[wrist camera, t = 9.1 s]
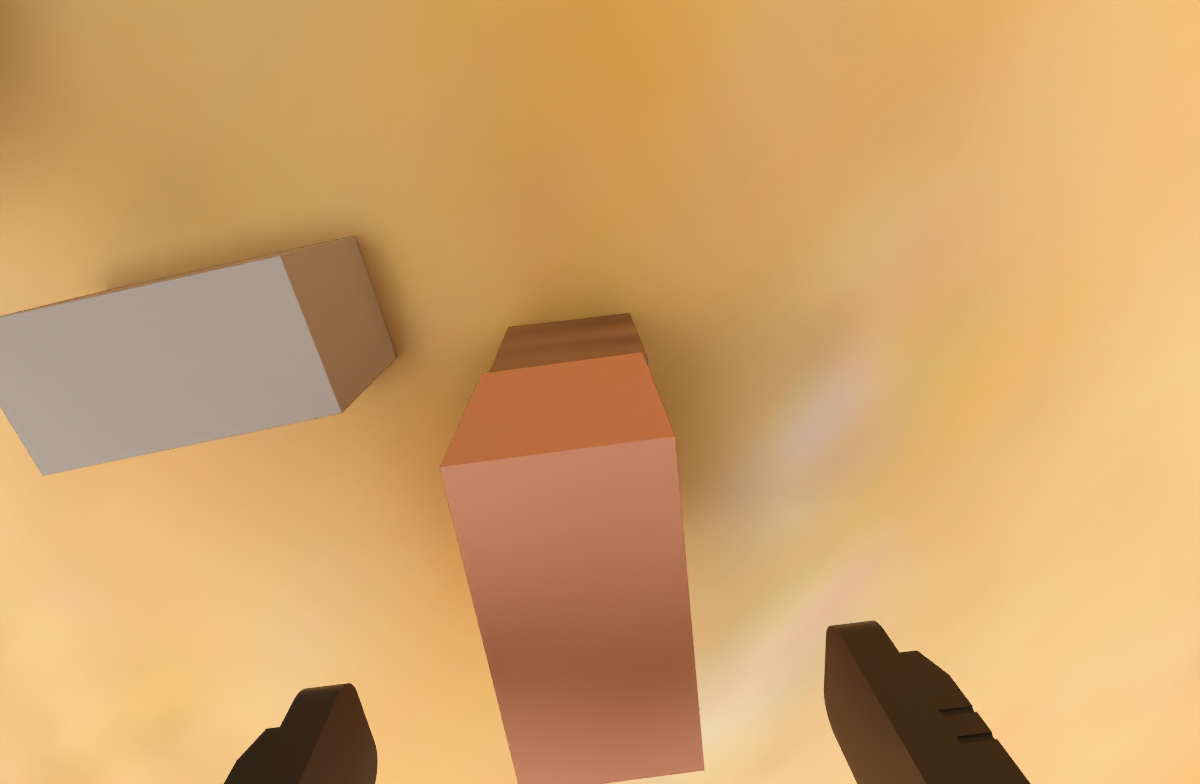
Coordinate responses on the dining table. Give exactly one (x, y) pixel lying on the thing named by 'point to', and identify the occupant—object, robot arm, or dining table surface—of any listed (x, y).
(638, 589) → the terracotta brick
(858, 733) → the robot arm
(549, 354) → the walnut brick
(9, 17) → the dining table surface
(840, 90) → the dining table surface
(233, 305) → the slate brick
